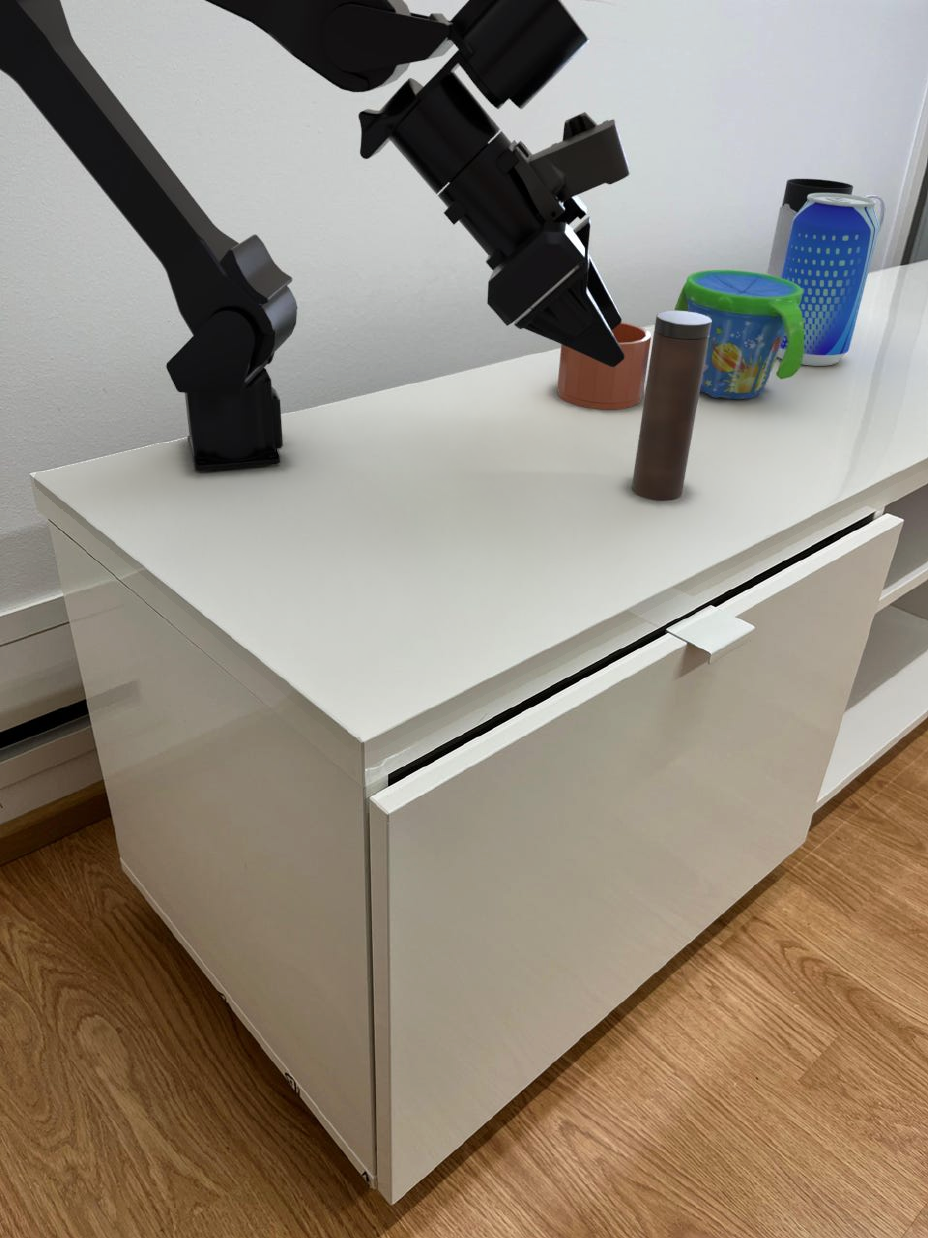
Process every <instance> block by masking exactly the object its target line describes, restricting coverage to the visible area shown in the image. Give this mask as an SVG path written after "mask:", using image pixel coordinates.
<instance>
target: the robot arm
mask: <svg viewBox="0 0 928 1238" xmlns="http://www.w3.org/2000/svg"><path fill="white" fill-rule="evenodd" d="M204 1H205V2H207V3H209V4H211V5H213V6H215V7H218V8H220V9H221V10H224V11H226V12H228V13H230V14H233V15H235V16H237V17H239V18H241V19H244V20H245V21H248V22H249V23H252V25H254V26H256V27H257V28H259V29H260V30H262V31H263V32H264V33H266V34H267V35H268V36H269V37H271V38H272V39H273V40H274V41H275V42H276V43H277V44H278V45H280V46H281V47H282V48H283V49H285V50H286V52H288V53H289V54H290V55H291V56H292V57H293V58H295V59H297V60H298V61H299V62H300V63H302V64H304V65H305V66H306V67H308V68H310V69H311V70H312V71H314V72H315V73H316V74H318V75H319V76H320V77H322V78H323V79H324V80H326V81H327V82H329V83H331V84H332V85H334V87H337V88H339V89H340V90H343V91H346V92H351V93H366V92H371V91H373V90H377V89H379V88H383V87H385V86H387V85H390V84H392V83H394V82H396V81H398V80H399V79H400V78H401V77H402V75H404V73H406V72H407V70H408V68H409V67H410V65H411V64H412V63H417V62H422V61H427V60H431V59H436V58H439V57H443V56H445V55H446V54H447V53H448V52H449V50H450V49H451V48H452V47H453V46H455V47H456V48H457V51H456V52H455V53H454V54H453V55H451V57H450V58H449V60H447V62H445V64H444V65H443V66H442V67H441V68H440V69H439V70H438V71H437V72H436V73H435V74H434V75H433V76H432V77H431V79H429V81H428V82H427V83H425V84H424V85H423V84H421V83H420V82H419V81H417V80H416V79H414V78H413V77H412V78H411V77H409V78H408V79H407V80H406V81H405V82H404V83H403V84H402V85H401V86H400V87H399V88H398V90H397V91H396V92H395V93H394V94H393V95H392V96H391V97H390V98H389V99H388V101H386V103H384V105H383V106H382V107H381V108H380V109H379V110H375V109H371V108H366V109H364V110H362V111H361V110H360V111H359V113H358V116H357V117H358V120H359V124H360V125H359V126H360V146H359V147H360V149H359V155H360V157H361V158H362V159H364V160H369V159H370V158H372V157H374V156H375V155H377V154H378V153H380V152H381V151H382V150H383V149H384V147H385V146H387V144H388V143H389V142H390V143H392V144H393V146H394V147H395V148H396V149H397V150H398V151H399V152H400V154H401V155H402V156H403V157H404V158H405V160H406V161H407V162H408V163H409V164H410V166H412V168H413V169H414V170H415V171H416V172H417V174H418V175H419V176H420V177H421V178H422V180H423V181H424V182H425V183H426V184H427V185H428V186H429V188H430V189H431V190H432V191H433V192H434V194H436V195H437V197H438V198H439V200H441V201H442V203H443V204H444V205H445V207H447V208H446V209H444V212H443V215H444V216H445V217H447V219H448V220H449V221H450V222H451V224H452V225H453V226H455V225H456V224H457V223H458V222H459V223H461V225H462V227H463V228H465V230H466V231H467V232H468V233H469V234H470V236H471V237H472V238H473V239H474V241H475V242H476V243H477V244H478V245H479V246H480V247H481V249H482V250H483V251H484V252H485V253H486V255H487V258H486V261H485V263H486V265H487V266H488V267H489V268H490V269H491V270H492V272H491V273H490V277H489V280H488V283H487V299H486V300H487V301H486V304H487V305H488V306H489V308H490V309H491V310H492V311H493V312H494V313H495V314H496V315H497V316H498V318H499V319H500V321H502V323H504V324H505V326H507V327H508V326H510V325H511V324H513V325H514V327H516V329H519V330H523V329H524V330H526V331H528V332H531V333H534V334H536V335H537V336H538V335H539V336H540V337H543V338H546V339H548V340H550V341H553V342H555V343H557V344H559V345H561V344H562V345H564V346H566V347H569V348H571V349H573V350H575V351H577V352H580V353H582V354H584V355H586V356H588V357H590V358H593V359H595V360H597V361H599V362H601V363H603V364H606V365H608V366H610V367H615V366H616V365H618V364H619V363H620V362H621V361H623V360H624V357H625V356H624V353H623V351H622V349H621V347H620V345H619V344H618V342H617V340H616V338H615V336H614V335H613V333H612V331H611V330H613V329H614V328H615V327H617V326H618V325H619V324H620V323H621V322H623V320H622V316H621V314H620V312H619V310H618V308H617V306H616V304H615V303H614V300H613V298H612V296H611V294H610V292H609V291H608V288H607V287H606V284H605V282H604V281H603V278H602V276H601V274H600V272H599V270H598V268H597V266H596V265H595V262H594V260H593V258H592V256H591V254H590V252H589V246H590V237H591V236H590V234H591V224H592V223H591V216H587V214H588V207H587V206H586V204H584V202H583V201H582V200H581V199H580V197H579V196H578V195H580V194H583V193H585V192H587V191H590V190H592V189H595V188H596V187H597V188H598V187H599V186H602V185H605V184H607V185H613V184H616V183H617V182H619V181H622V180H624V179H625V178H627V177H629V176H630V174H631V170H630V166H629V162H628V158H627V156H626V153H625V150H624V146H623V142H622V140H621V136H620V133H619V130H618V126H617V124H616V120H615V119H610V120H609V119H606V120H604V121H602V123H599V124H598V123H597V122H596V121H594V119H593V118H592V117H591V116H590V115H589V114H588V113H587V112H586V111H584V112H582V113H580V114H577V115H575V116H573V117H572V116H571V118H568V119H566V120H565V121H564V123H563V131H562V140H561V141H559V142H555V143H552V144H551V145H550V146H549V147H547V148H545V149H542V150H540V151H538V152H536V153H532V152H531V151H530V150H529V148H528V147H527V146H526V145H525V144H524V143H523V141H522V140H520V141H519V142H517V141H516V140H515V139H514V140H512V141H510V139H509V138H508V137H507V135H506V134H505V133H504V132H503V131H502V130H501V128H500V127H499V126H498V124H497V123H496V122H495V121H494V119H493V118H492V116H490V114H489V113H488V112H487V110H485V108H484V107H483V106H482V105H481V103H480V102H479V101H478V100H477V98H476V97H475V96H474V94H473V93H472V92H471V91H470V90H469V88H468V87H467V86H466V85H465V83H464V82H463V80H461V78H460V77H459V76H458V75H457V73H456V72H455V71H456V70H457V69H458V68H459V67H461V69H462V70H463V71H464V73H465V74H466V76H467V77H468V78H469V80H470V81H471V82H472V83H473V85H474V86H475V87H476V89H477V90H478V91H479V93H481V95H483V97H484V98H485V99H486V100H487V101H488V102H489V103H490V104H491V106H493V107H494V108H495V109H497V110H500V109H502V107H503V106H504V105H505V104H506V102H508V101H509V100H510V101H511V103H513V104H514V105H515V106H516V107H517V108H518V109H520V110H523V109H524V108H525V107H526V106H527V105H528V104H529V103H530V102H531V101H532V100H533V99H534V98H535V97H536V96H537V95H538V94H539V93H540V92H541V91H542V90H543V89H544V88H545V87H547V85H548V84H549V83H550V82H551V81H552V80H553V79H554V78H555V77H556V76H557V75H558V74H559V73H560V72H561V71H562V70H563V69H564V68H565V67H566V66H567V65H568V64H569V63H570V62H571V61H572V60H573V59H574V58H575V57H576V56H577V55H578V53H579V52H580V51H581V50H582V49H583V48H585V47H586V45H588V44H589V43H590V41H591V40H590V38H589V37H588V36H587V34H586V32H585V31H584V30H583V28H582V27H581V26H580V24H579V23H578V21H577V20H576V19H575V18H574V16H573V15H572V13H571V12H570V11H569V9H568V8H567V6H565V4H564V2H562V0H468V1H466V3H465V4H463V6H462V7H461V8H460V9H459V10H458V12H457V13H456V14H455V15H453V17H452V18H451V19H450V20H449V19H447V18H446V17H445V15H444V14H443V13H441V12H439V13H437V12H435V13H434V12H432V13H430V15H425V14H420V13H415V12H411V11H410V9H409V7H408V5H407V3H406V2H405V1H404V0H204ZM0 71H1V72H2V73H4V74H5V75H7V76H8V77H9V78H10V79H12V80H13V81H14V82H15V83H16V85H18V86H19V88H20V89H21V90H22V91H23V93H24V94H25V95H26V96H27V98H28V99H29V100H30V101H31V103H32V104H33V105H34V106H35V108H36V109H37V110H38V111H39V113H40V114H41V115H42V116H43V118H44V119H45V120H46V121H47V122H48V124H49V125H50V126H51V128H52V129H53V130H54V132H55V133H56V134H57V135H58V136H59V137H60V139H61V141H63V142H64V144H65V145H66V147H68V149H69V151H71V152H72V154H73V155H74V156H75V158H76V159H77V160H78V161H79V162H80V165H82V167H83V168H84V169H85V170H86V171H87V172H88V174H89V175H90V176H91V178H92V179H93V180H94V182H95V183H97V185H98V186H99V187H100V189H101V190H102V191H103V192H104V194H105V195H106V196H107V197H108V199H109V200H110V201H111V203H112V204H113V205H114V206H115V208H116V209H117V210H118V211H119V212H120V214H121V215H122V216H123V218H124V219H125V220H126V221H127V223H128V224H129V225H130V226H131V228H133V230H134V231H135V233H136V234H137V236H139V238H140V239H141V240H142V241H143V242H144V244H145V245H146V246H147V247H148V249H149V250H150V251H151V253H152V254H153V255H154V257H156V259H157V260H158V261H159V262H160V264H161V265H162V267H163V268H164V270H165V273H166V275H167V279H168V282H169V284H170V287H171V288H170V289H171V292H172V294H173V298H174V300H175V303H176V306H177V309H178V312H179V314H180V316H181V318H182V319H183V321H184V323H185V324H186V326H187V328H188V329H189V331H190V333H191V334H192V336H191V337H190V339H188V341H186V342H185V344H184V345H183V346H182V347H181V348H180V349H179V350H178V351H177V352H176V353H175V354H174V355H173V356H172V357H171V358H170V359H169V360H168V361H167V363H166V365H165V369H166V370H167V372H168V375H169V377H170V379H171V381H172V383H173V386H174V387H175V390H176V391H177V392H178V393H182V394H183V393H184V399H185V407H186V416H187V424H188V425H187V426H188V433H189V434H188V435H187V436H186V439H187V445H188V450H189V453H190V457H191V461H192V465H193V466H192V467H193V469H194V471H196V472H207V471H219V470H228V469H229V470H230V469H241V468H252V467H253V468H254V467H265V466H274V465H275V466H276V465H279V464H281V462H282V461H281V455H280V453H279V451H278V450H280V449H282V447H284V444H283V443H284V442H283V426H282V409H281V408H282V407H281V398H280V397H279V394H278V392H277V390H276V389H275V388H274V387H273V385H272V378H271V376H270V374H269V372H268V370H267V369H266V366H267V365H270V364H271V363H272V362H273V360H274V358H275V357H274V356H275V353H276V352H277V350H278V349H279V348H280V347H281V346H282V345H283V344H284V343H285V342H286V341H287V340H288V339H289V338H290V337H291V336H292V335H293V332H294V330H295V327H296V326H297V317H298V305H297V300H296V298H295V295H294V294H293V292H292V290H291V288H290V287H289V285H290V284H291V283H292V282H293V280H294V279H293V277H292V276H290V275H289V274H287V273H286V272H284V271H283V270H282V269H281V268H280V267H279V266H278V265H277V264H276V262H275V261H274V259H273V258H272V256H271V254H270V253H269V251H268V249H267V247H266V245H265V243H264V242H263V241H262V239H261V238H260V237H259V235H257V234H256V233H255V234H252V235H251V236H249V237H248V238H246V239H244V240H243V241H241V242H238V241H237V240H235V239H233V237H231V236H229V235H228V234H226V233H225V232H223V231H222V230H220V229H219V227H217V226H216V224H214V223H213V221H212V219H210V218H209V216H208V215H207V214H206V213H205V211H204V210H203V208H202V207H201V206H200V204H199V203H198V202H197V200H196V199H195V198H194V197H193V195H192V194H191V193H190V191H189V190H188V189H187V188H186V186H185V185H184V183H183V182H182V181H181V180H180V179H179V177H178V176H177V175H176V173H175V172H174V170H173V169H172V168H171V167H170V165H169V164H168V163H167V161H166V160H165V159H164V157H163V156H162V155H161V153H160V152H159V151H158V150H157V148H156V147H155V146H154V144H153V143H152V142H151V140H150V139H149V138H148V136H147V135H146V134H145V132H143V130H142V129H141V128H140V126H139V125H138V124H137V122H136V121H135V120H134V118H133V116H131V114H130V113H129V112H128V110H127V109H126V108H125V107H124V105H123V104H122V102H121V101H120V100H119V99H118V97H117V96H116V94H115V93H114V92H113V90H111V88H110V87H109V85H108V84H107V82H105V80H104V79H103V78H102V76H101V75H100V74H99V72H98V71H97V70H96V68H95V67H94V66H93V65H92V64H91V62H90V61H89V60H88V58H87V56H85V54H84V53H83V51H82V50H81V49H80V48H79V46H78V45H77V43H76V42H75V40H74V38H73V35H72V33H71V29H70V27H69V24H68V20H67V18H66V14H65V12H64V8H63V5H62V1H61V0H0ZM585 216H587V217H586V218H585ZM583 218H585V219H583ZM576 219H579V220H582V219H583V220H582V221H581V222H580V223H579V224H577V226H576V227H575V228H573V227H572V226H571V224H572V223H573V222H574V221H575V220H576Z"/></svg>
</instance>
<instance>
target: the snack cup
mask: <svg viewBox="0 0 928 1238" xmlns="http://www.w3.org/2000/svg"><path fill="white" fill-rule="evenodd" d="M802 294H803V290H802V289H801V287H800V286H798V285H797V284H795V283H793V282H791V281H788V280H786V279H783V278H779V277H775V276H771V275H767V273H760V272H755V271H745V270H735V269H710V270H700V271H696V272H693V273H691V274H689V275H688V276H687V278H686V281H685V283H684V285H683V287H682V289H681V291H680V294H679V296H678V298H677V301H676V304H675V307H674V310H673V311H688V312H694V313H699V314H702V315H705V316H707V317H709V318H710V319H711V320H712V323H711V329H710V334H709V340H708V346H707V352H706V358H705V364H704V369H703V375H702V381H701V387H700V392H699V393H706V394H708V396H709V395H710V396H711V397H713V398H715V399H717V398H724V399H729V400H745V399H746V400H750V399H752V398H755V397H756V396H759V395H760V393H762V392H763V391H764V389H765V388H766V385H767V383H768V381H769V378H770V375H771V372H772V371H773V368H774V365H775V363H776V360H777V358H778V357H777V355H778V352H779V350H780V346H781V343H782V340H783V338H784V336H785V333H786V337H787V341H788V345H787V348H786V350H785V353H784V356H783V358H782V359H781V360H780V364H779V365H778V369H777V371H776V373H775V375H776V377H777V378H778V379H780V380H785V379H789V378H792V377H793V376H795V374H796V373H798V372H799V370H800V368H801V366H802V359H803V352H804V322H803V318H802V313H801V310H800V308H799V304H800V302H801V298H802Z"/></svg>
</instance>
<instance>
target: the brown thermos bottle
mask: <svg viewBox="0 0 928 1238" xmlns="http://www.w3.org/2000/svg"><path fill="white" fill-rule="evenodd" d="M711 323H712V320H711V319H710V318H709V317H707V316H705V315H702V314H699V313H694V312H688V311H674V310H666V311H661V312H658V313H656V316H655V323H654V329H653V337H652V342H651V343H652V344H651V348H650V349H651V350H650V356H649V357H650V358H649V362H648V363H649V364H648V371H647V378H646V384H645V393H644V399H643V406H642V414H641V419H640V427H639V434H638V440H637V441H638V442H637V447H636V454H635V455H636V456H635V462H634V470H633V477H632V483H631V489H632V492H634V493H635V494H636V495H638V496H640V497H642V498H645V499H649V500H654V501H672V500H677V499H678V498H680V497H681V496H682V495H683V490H684V484H685V478H686V473H687V467H688V462H689V455H690V450H691V444H692V438H693V433H694V428H695V427H694V426H695V420H696V416H697V415H696V414H697V410H698V409H697V408H698V403H699V397H700V393H701V392H700V387H701V381H702V375H703V369H704V364H705V358H706V352H707V346H708V340H709V334H710V329H711Z"/></svg>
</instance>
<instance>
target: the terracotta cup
mask: <svg viewBox="0 0 928 1238" xmlns="http://www.w3.org/2000/svg"><path fill="white" fill-rule="evenodd" d="M611 331H612V333H613V335H614V336H615V338H616V340H617V342H618V344H619V345H620V347H621V349H622V351H623V353H624V356H625V357H624V360H623V361H621V362H620V363H619V364H618V365H616V366H615V367H610V366H608V365H606V364H603V363H601V362H599V361H597V360H595V359H593V358H590V357H588V356H586V355H584V354H582V353H580V352H577V351H575V350H573V349H571V348H569V347H566V346H564V345H562V344H560V354H559V362H558V363H559V364H558V374H557V386H556V393H557V395H558V396H559V398H560V399H562V400H564V401H565V402H567V403H570V404H573V405H576V406H578V407H584V408H589V409H596V410H621V409H627V408H632V407H634V406H637V405H638V404H640V402H642V399H643V395H644V390H645V385H646V384H645V383H646V376H647V369H648V363H649V357H650V356H649V354H650V349H651V341H652V335H651V332H650V331H649V330H647V329H645V328H643V327H642V326H640V325H636V324H633V323H629V322H625V321H621V323H620V324H619V325H618V326H617V327H615V328H614V329H613V330H611Z"/></svg>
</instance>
